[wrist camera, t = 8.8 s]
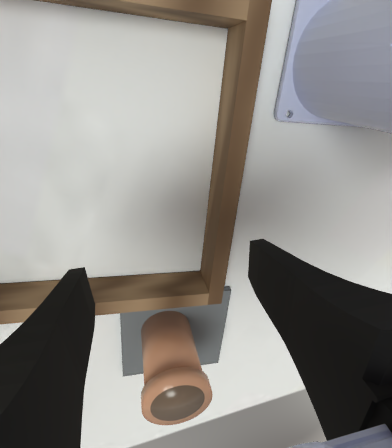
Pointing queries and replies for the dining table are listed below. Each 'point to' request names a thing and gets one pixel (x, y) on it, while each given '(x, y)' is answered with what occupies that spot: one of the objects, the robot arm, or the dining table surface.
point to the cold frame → (221, 169)
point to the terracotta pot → (171, 371)
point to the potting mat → (200, 326)
